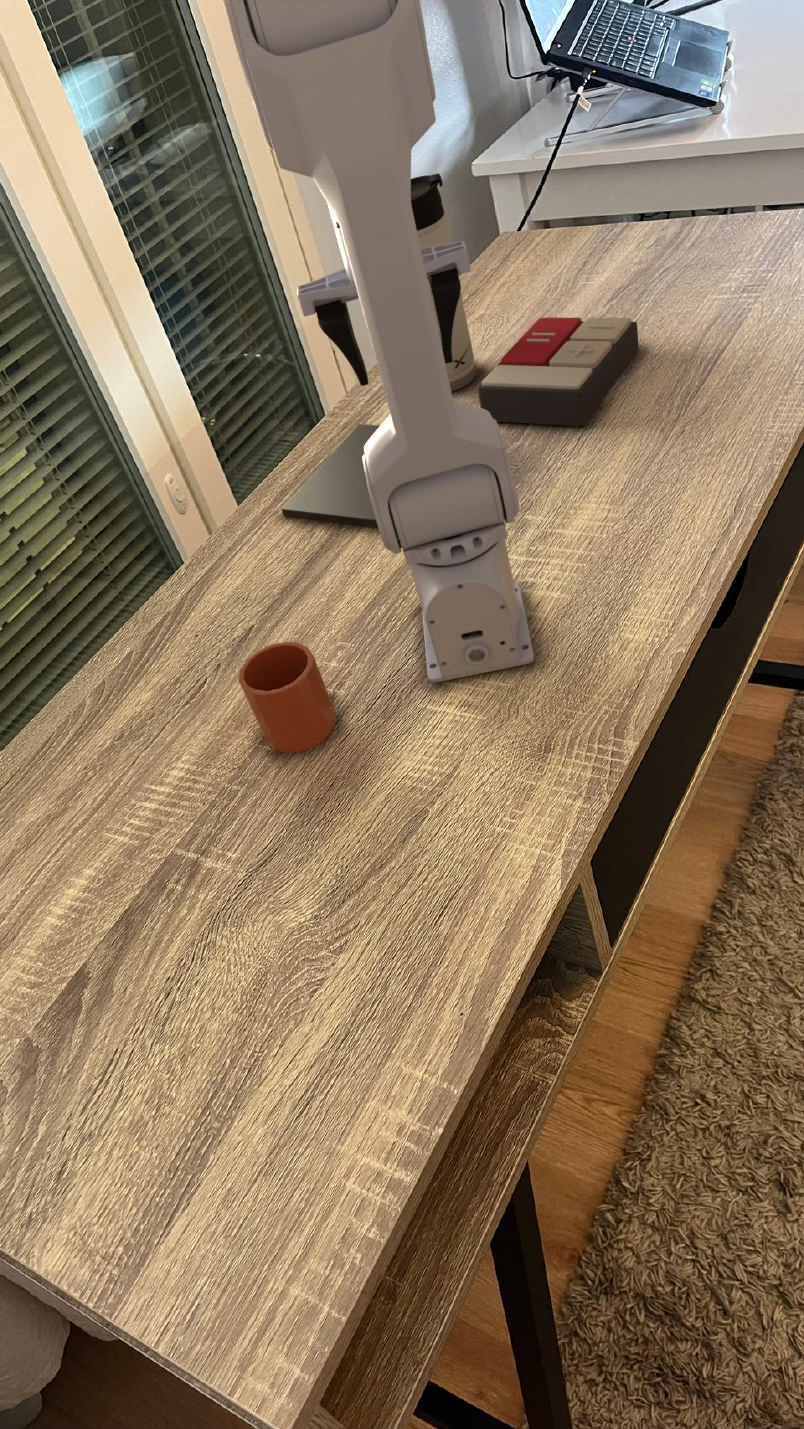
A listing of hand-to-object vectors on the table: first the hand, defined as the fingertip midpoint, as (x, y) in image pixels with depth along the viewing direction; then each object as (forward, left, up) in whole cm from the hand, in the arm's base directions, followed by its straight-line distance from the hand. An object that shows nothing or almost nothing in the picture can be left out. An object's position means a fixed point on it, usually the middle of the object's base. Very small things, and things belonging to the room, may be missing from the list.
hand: (405, 369), depth 96 cm
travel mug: (+17, -3, -10) cm, 20 cm away
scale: (+1, +6, -10) cm, 12 cm away
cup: (-32, +12, -10) cm, 36 cm away
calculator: (+10, -14, -10) cm, 20 cm away
